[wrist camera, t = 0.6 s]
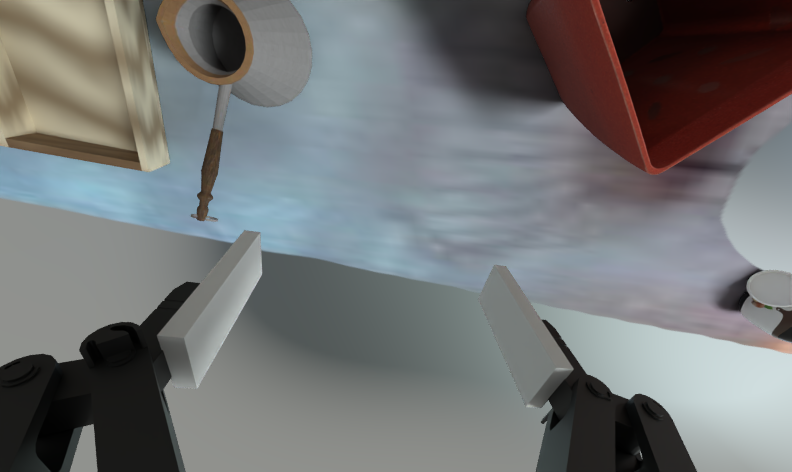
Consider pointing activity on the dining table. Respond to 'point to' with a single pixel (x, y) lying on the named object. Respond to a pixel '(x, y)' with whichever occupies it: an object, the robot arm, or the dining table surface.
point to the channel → (80, 82)
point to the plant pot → (665, 69)
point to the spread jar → (769, 303)
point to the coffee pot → (237, 59)
